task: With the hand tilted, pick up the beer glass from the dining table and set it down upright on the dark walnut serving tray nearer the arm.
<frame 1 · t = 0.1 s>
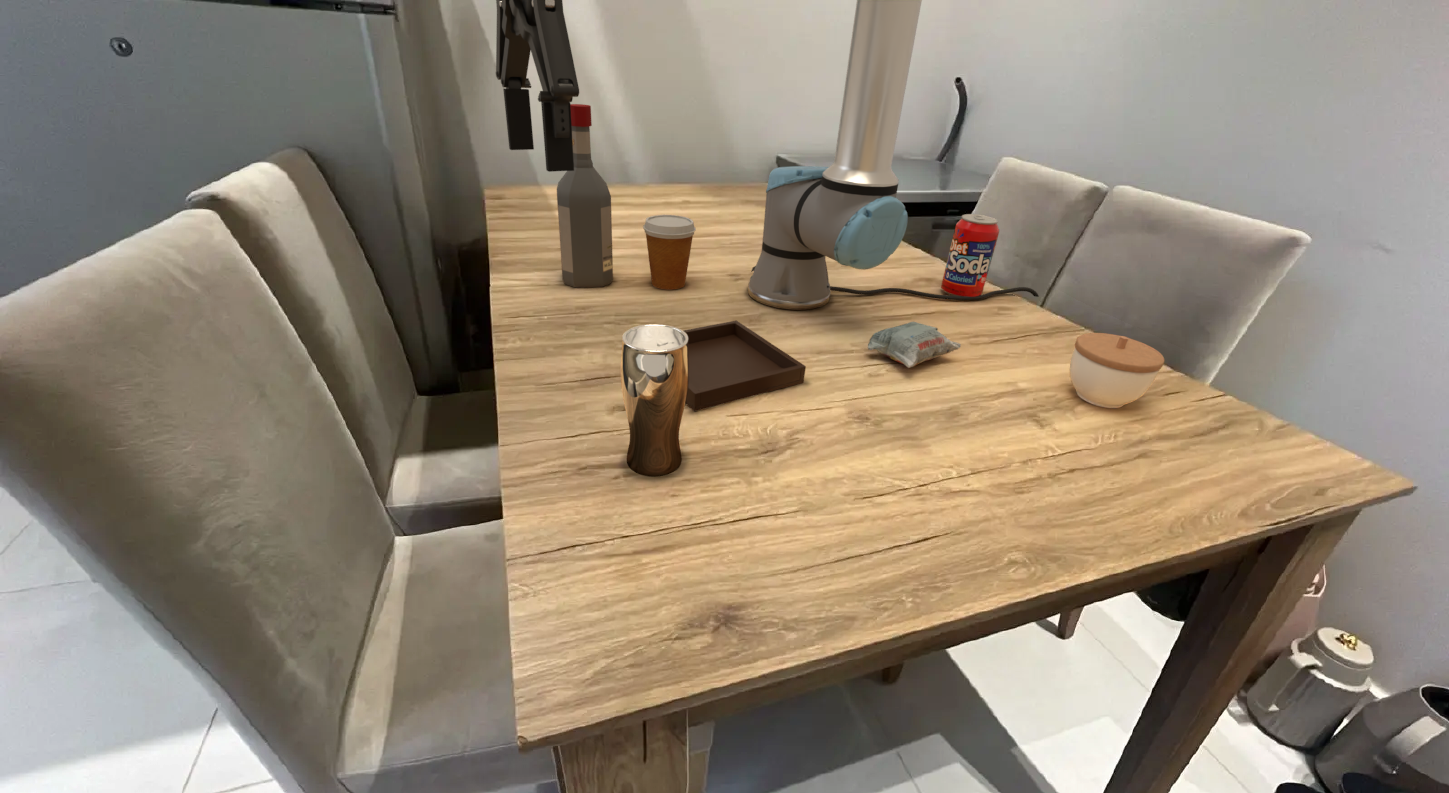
hand: (539, 159, 70), 28 cm above the table, tool pointing down, fingers open, 13 cm apart
packaged food: (910, 360, 97), on the table
soda can: (959, 295, 125), on the table
disposable coffee cup: (668, 285, 119), on the table
serving tray: (717, 368, 90), on the table
beer glass: (654, 462, 70), on the table
liquor: (587, 280, 119), on the table
trinket box: (1099, 398, 90), on the table
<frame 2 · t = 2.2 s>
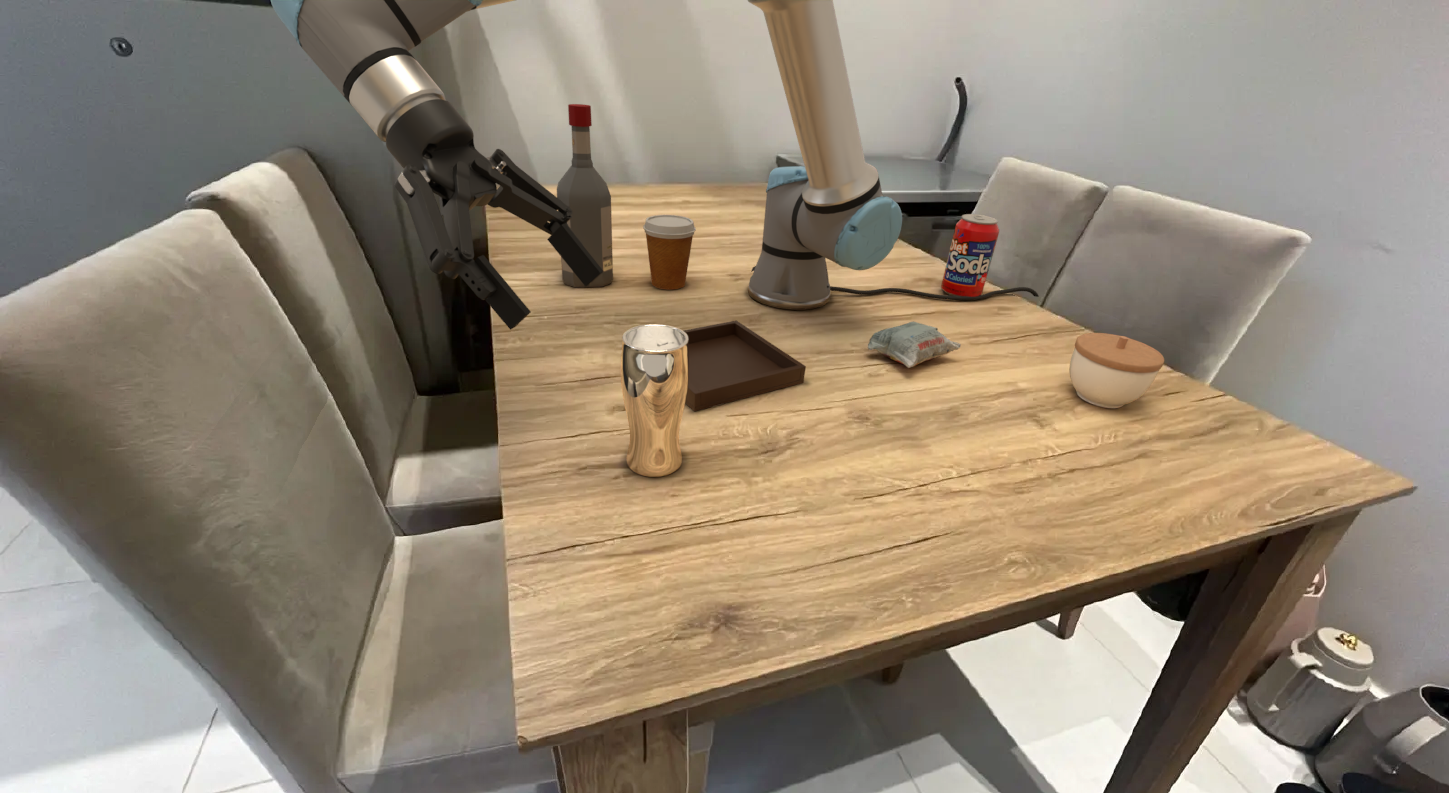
hand: (561, 298, 64), 17 cm above the table, tool tilted 45°, fingers open, 13 cm apart
nothing on the table moved.
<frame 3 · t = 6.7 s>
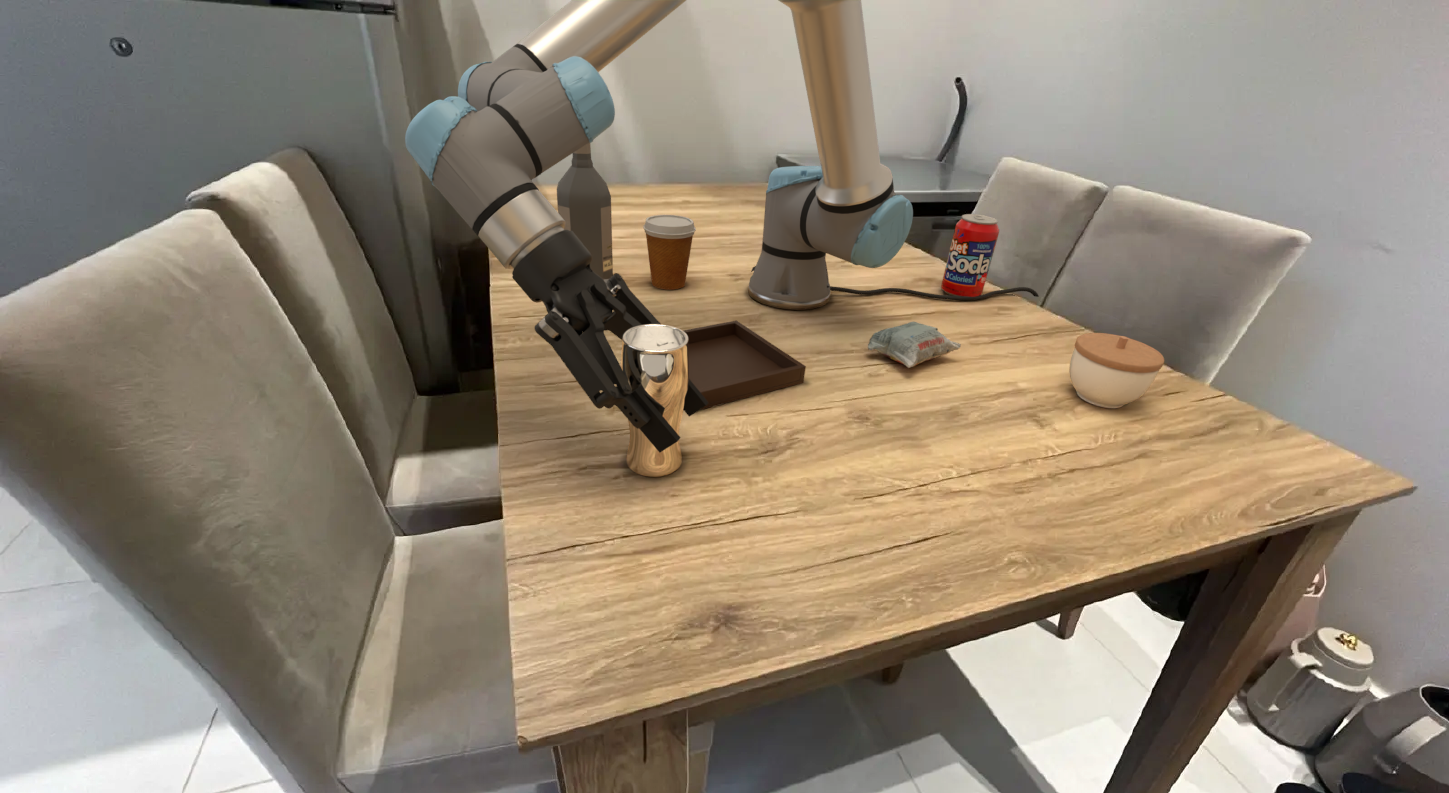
hand: (684, 426, 66), 5 cm above the table, tool tilted 45°, fingers closed on beer glass, 7 cm apart
beer glass: (654, 462, 70), on the table, touching gripper
everything else where it was.
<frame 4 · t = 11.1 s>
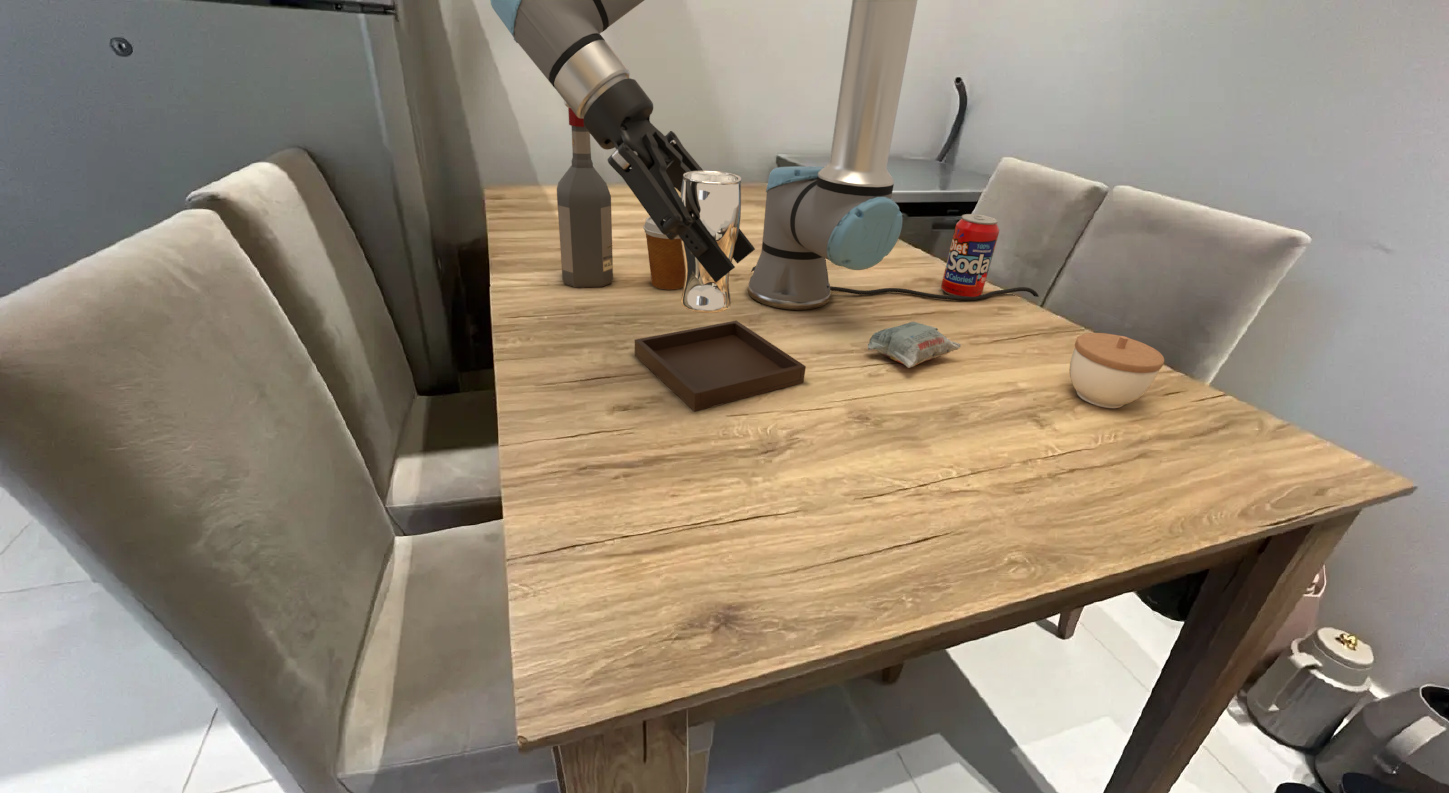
hand: (736, 265, 73), 18 cm above the table, tool tilted 45°, fingers closed on beer glass, 7 cm apart
beer glass: (705, 305, 77), point 13 cm above the table, touching gripper
everything else where it was.
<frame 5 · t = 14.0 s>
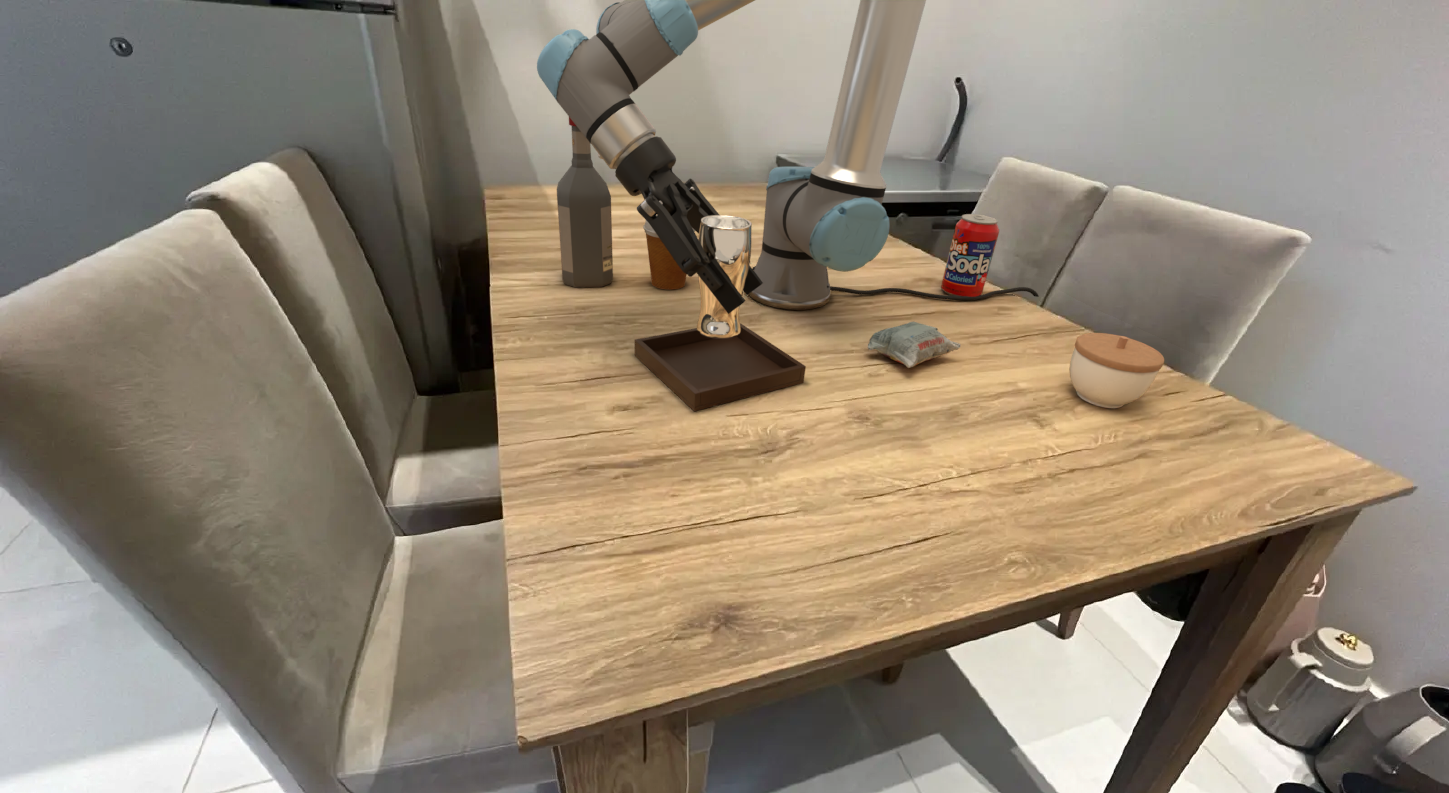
hand: (746, 297, 83), 11 cm above the table, tool tilted 45°, fingers closed on beer glass, 7 cm apart
beer glass: (718, 331, 87), point 6 cm above the table, touching gripper
everything else where it was.
when the fingers open (6 cm above the table, at t = 15.9 s): beer glass stays where it is, resting on serving tray.
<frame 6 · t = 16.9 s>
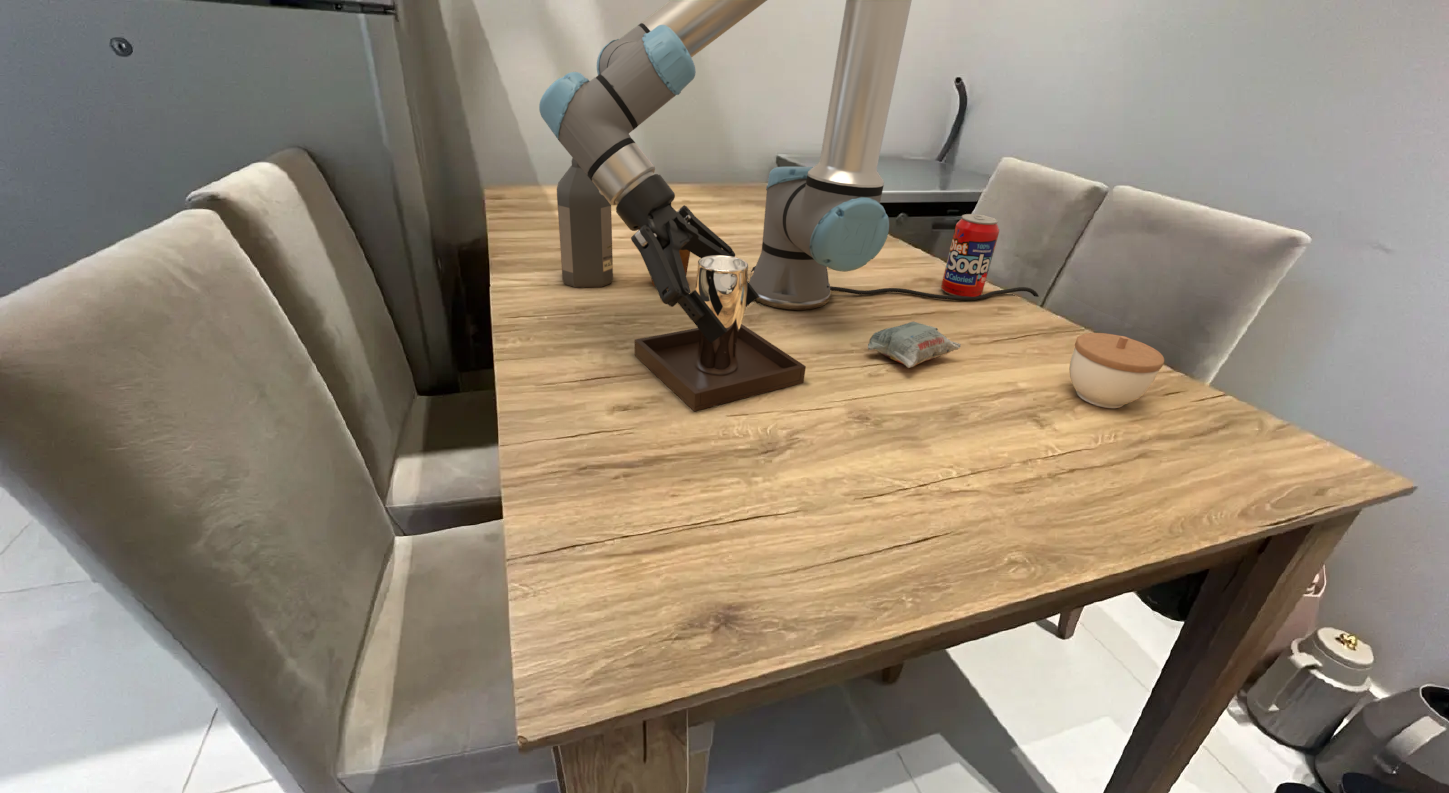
hand: (736, 318, 85), 8 cm above the table, tool tilted 45°, fingers open, 13 cm apart
beer glass: (716, 366, 90), resting on serving tray
everything else where it was.
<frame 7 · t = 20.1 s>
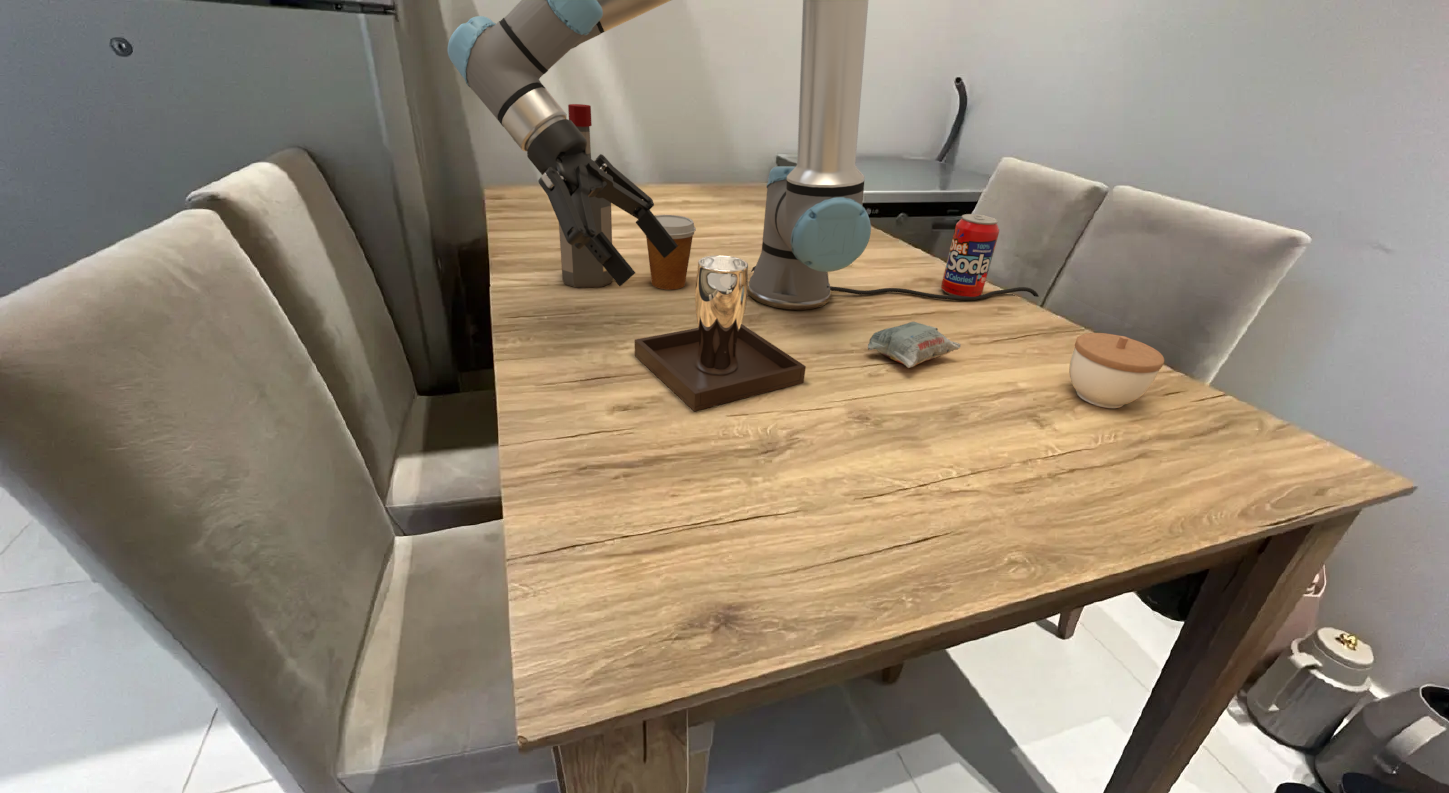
hand: (651, 265, 86), 14 cm above the table, tool tilted 45°, fingers open, 13 cm apart
nothing on the table moved.
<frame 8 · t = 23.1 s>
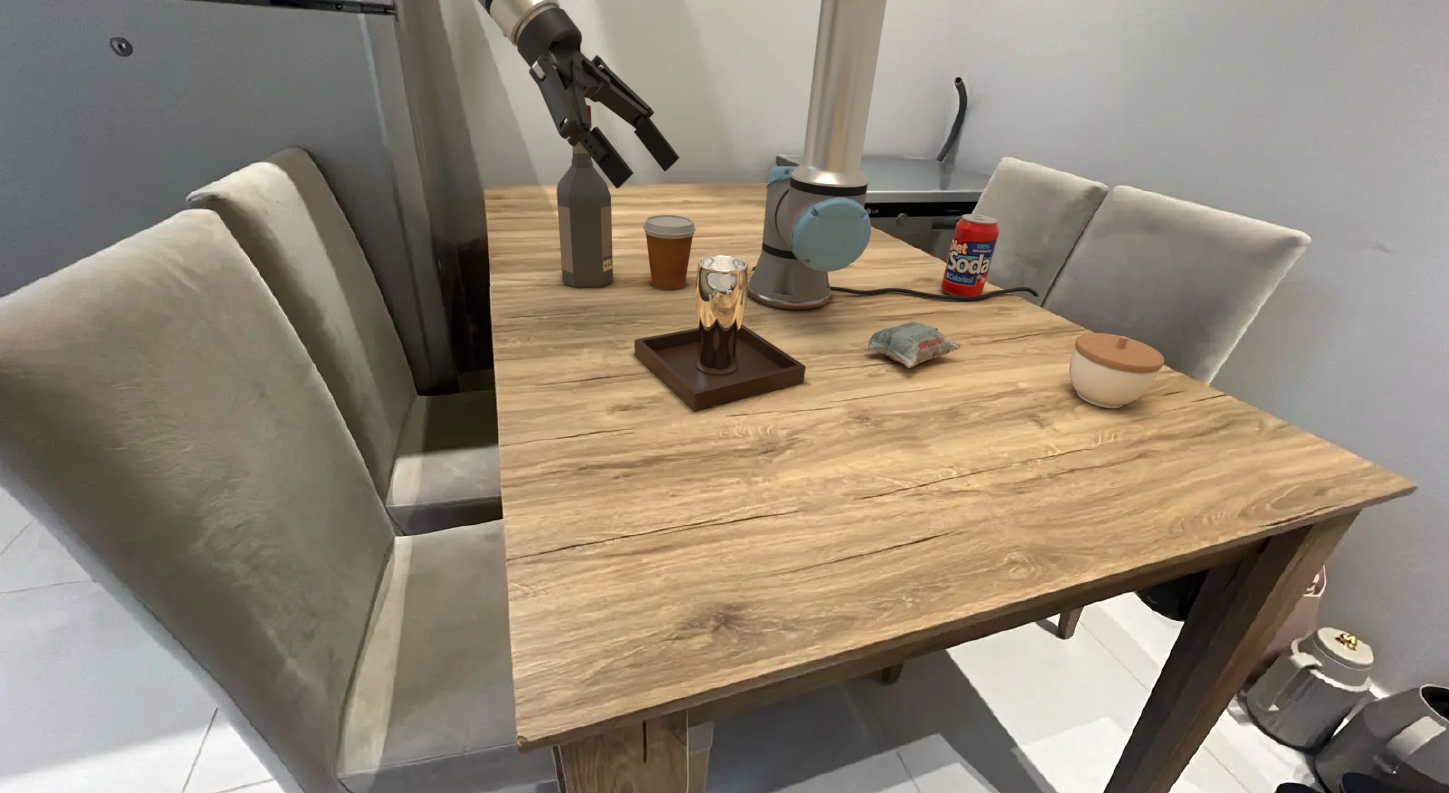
hand: (650, 172, 80), 26 cm above the table, tool tilted 45°, fingers open, 13 cm apart
nothing on the table moved.
at the end: beer glass inside the target area in the serving tray (0.1 cm from its centre), point 0.4 cm above the serving tray's base; beer glass tilted 0°; the gripper is holding nothing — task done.
